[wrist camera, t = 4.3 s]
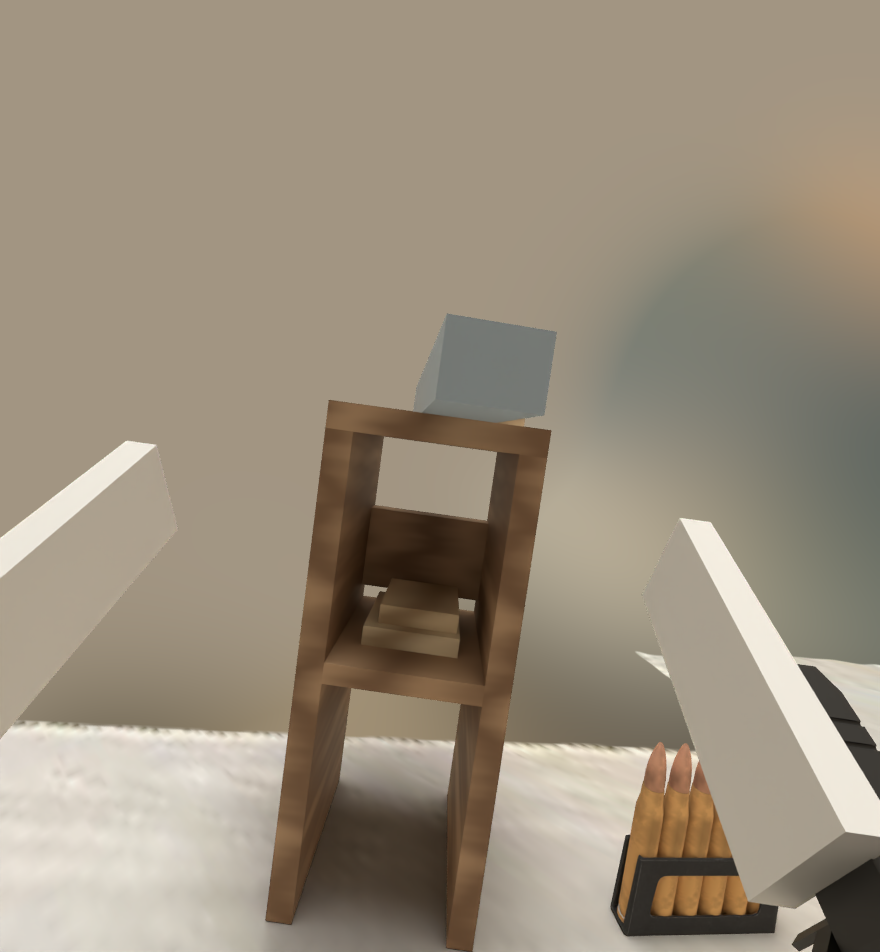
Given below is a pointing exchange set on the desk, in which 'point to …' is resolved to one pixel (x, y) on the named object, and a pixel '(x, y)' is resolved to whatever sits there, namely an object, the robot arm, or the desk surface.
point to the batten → (486, 371)
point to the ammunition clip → (681, 862)
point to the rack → (409, 632)
